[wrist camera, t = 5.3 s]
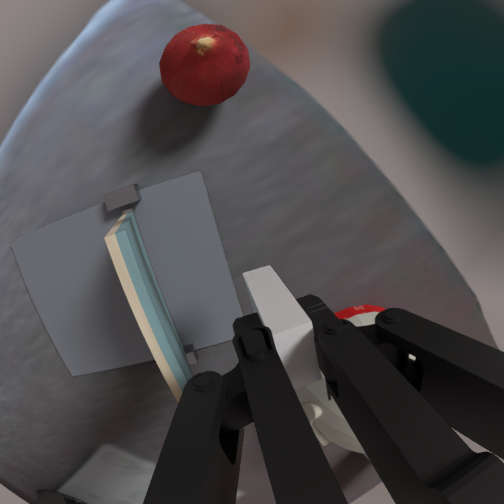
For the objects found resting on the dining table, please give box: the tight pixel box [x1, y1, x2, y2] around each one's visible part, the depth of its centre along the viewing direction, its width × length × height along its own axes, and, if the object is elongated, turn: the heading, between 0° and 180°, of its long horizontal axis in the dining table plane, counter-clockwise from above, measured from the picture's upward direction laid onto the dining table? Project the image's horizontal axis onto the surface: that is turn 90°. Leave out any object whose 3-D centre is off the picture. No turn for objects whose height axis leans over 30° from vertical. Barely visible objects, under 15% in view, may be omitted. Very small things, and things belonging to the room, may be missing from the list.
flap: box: [104, 208, 193, 403], centre depth 17 cm, size 13×12×1 cm
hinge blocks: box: [103, 184, 198, 365], centre depth 22 cm, size 2×15×1 cm, turn 14°
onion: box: [159, 24, 250, 106], centre depth 17 cm, size 6×6×8 cm
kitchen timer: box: [294, 305, 416, 454], centre depth 22 cm, size 14×14×15 cm
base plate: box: [10, 171, 243, 376], centre depth 23 cm, size 18×14×1 cm
